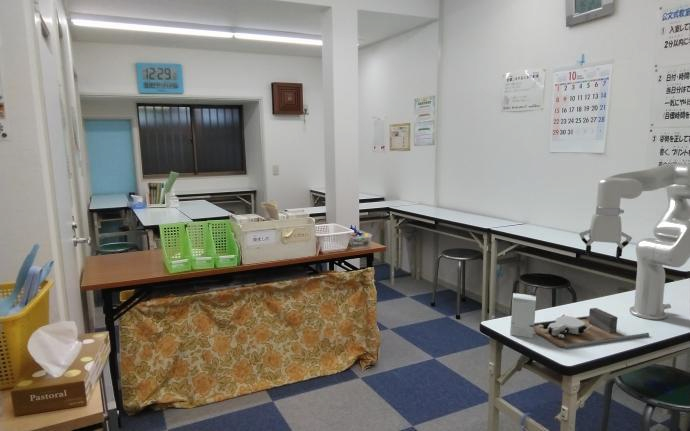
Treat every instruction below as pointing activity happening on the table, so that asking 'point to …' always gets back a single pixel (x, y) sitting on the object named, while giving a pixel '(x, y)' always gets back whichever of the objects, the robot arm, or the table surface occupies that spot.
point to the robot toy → (565, 326)
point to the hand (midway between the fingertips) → (603, 256)
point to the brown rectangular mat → (600, 329)
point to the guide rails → (596, 340)
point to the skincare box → (523, 315)
